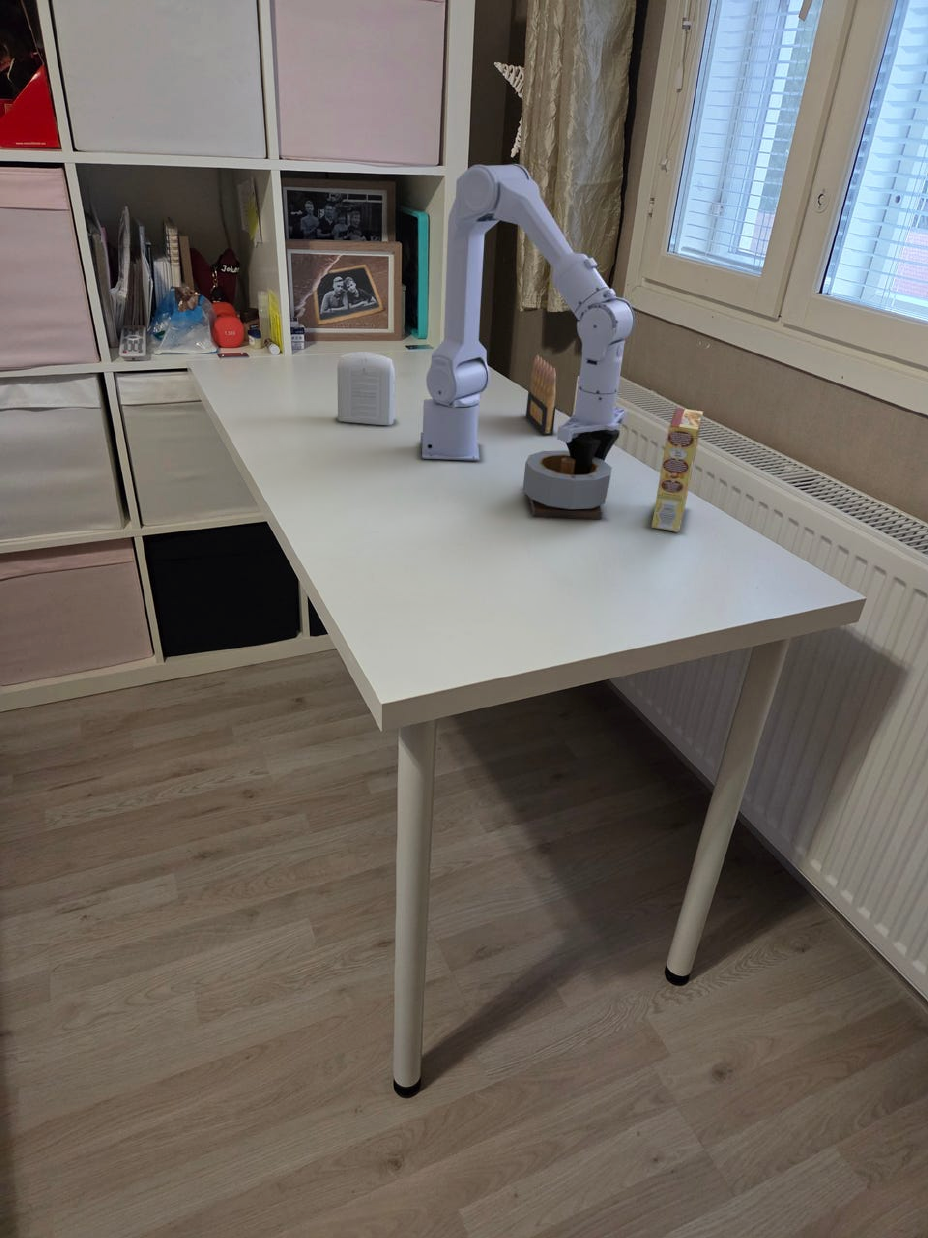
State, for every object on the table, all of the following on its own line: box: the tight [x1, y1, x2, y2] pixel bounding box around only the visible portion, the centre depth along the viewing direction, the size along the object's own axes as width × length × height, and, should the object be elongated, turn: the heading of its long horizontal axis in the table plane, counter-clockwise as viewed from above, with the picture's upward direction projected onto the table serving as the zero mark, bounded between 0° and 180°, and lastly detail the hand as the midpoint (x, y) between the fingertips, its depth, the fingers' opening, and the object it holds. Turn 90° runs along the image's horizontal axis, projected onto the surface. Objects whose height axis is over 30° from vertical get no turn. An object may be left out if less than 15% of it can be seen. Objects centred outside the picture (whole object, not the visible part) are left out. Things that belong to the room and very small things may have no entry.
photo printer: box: [336, 351, 396, 426], centre depth 152 cm, size 10×4×12 cm, turn 86°
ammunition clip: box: [525, 353, 557, 436], centre depth 155 cm, size 11×2×12 cm, turn 14°
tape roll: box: [522, 449, 613, 509], centre depth 126 cm, size 13×13×4 cm
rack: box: [528, 458, 603, 520], centre depth 126 cm, size 10×10×7 cm
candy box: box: [651, 407, 704, 533], centre depth 121 cm, size 9×4×15 cm, turn 162°
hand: (585, 476), depth 129 cm, fingers closed on tape roll, 2 cm apart
